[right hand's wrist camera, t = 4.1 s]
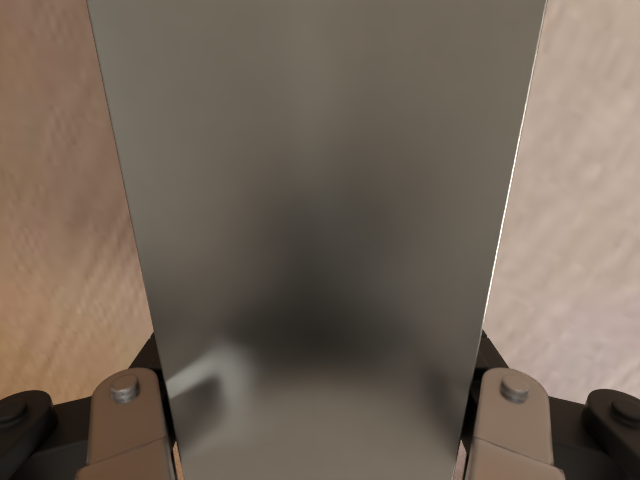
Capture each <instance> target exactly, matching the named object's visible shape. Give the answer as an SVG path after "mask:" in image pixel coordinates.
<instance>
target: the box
mask: <svg viewBox="0 0 640 480" xmlns="http://www.w3.org/2000/svg"><path fill="white" fill-rule="evenodd" d="M86 2H87V7H88V12H89V17H90V22H91V27H92V32H93V36H94V41H95V46H96V51H97V56H98V61H99V66H100V71H101V75H102V80H103V85H104V90H105V95H106V100H107V105H108V110H109V115H110V119H111V124H112V129H113V134H114V139H115V144H116V149H117V154H118V158H119V163H120V168H121V173H122V178H123V183H124V188H125V193H126V197H127V202H128V207H129V212H130V217H131V222H132V227H133V232H134V237H135V241H136V246H137V251H138V256H139V261H140V266H141V271H142V276H143V280H144V285H145V290H146V295H147V300H148V305H149V310H150V315H151V320H152V324H153V329H154V334H155V339H156V344H157V349H158V354H159V359H160V363H161V368H162V373H163V378H164V383H165V388H166V393H167V398H168V402H169V407H170V412H171V417H172V422H173V427H174V432H175V437H176V442H177V446H178V451H179V456H180V461H181V466H182V471H183V476H184V480H453V476H454V471H455V466H456V461H457V456H458V451H459V446H460V441H461V435H462V430H463V425H464V420H465V415H466V410H467V405H468V400H469V395H470V390H471V385H472V380H473V375H474V370H475V365H476V360H477V355H478V350H479V345H480V340H481V335H482V330H483V324H484V319H485V314H486V309H487V304H488V299H489V294H490V289H491V284H492V279H493V274H494V269H495V264H496V259H497V254H498V249H499V244H500V239H501V234H502V229H503V224H504V219H505V214H506V208H507V203H508V198H509V193H510V188H511V183H512V178H513V173H514V168H515V163H516V158H517V153H518V148H519V143H520V138H521V133H522V128H523V123H524V118H525V113H526V108H527V103H528V97H529V92H530V87H531V82H532V77H533V72H534V67H535V62H536V57H537V52H538V47H539V42H540V37H541V32H542V27H543V22H544V17H545V12H546V7H547V2H548V0H86Z"/></svg>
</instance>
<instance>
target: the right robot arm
mask: <svg viewBox="0 0 640 480" xmlns="http://www.w3.org/2000/svg"><path fill="white" fill-rule="evenodd" d="M461 440H462V443H463V445H464V448H465V450H466V457H465V463H464V469H463V475H462V480H640V400H639V399H637V398H635V397H633V396H631V395H628V394H626V393H623V392H620V391H616V390H610V389H598V390H594V391H592V392H591V393H590V394H589V395H588V398H587V401H586V403H585V405H584V404H580V403H575V402H571V401H567V400H562V399H558V398H554V397H550V396H548V394H547V392H546V390H545V389H544V388H543V386H542V385H541V384H540V383H539V382H537V381H536V380H535V379H533V378H532V377H530V376H529V375H527V374H525V373H522V372H520V371H517V370H514V369H510V368H509V367H508V366H507V364H506V363H505V361H504V360H503V358H502V357H501V355H500V354H499V352H498V351H497V350H496V348H495V347H494V345H493V344H492V342H491V341H490V339H489V338H487V335H486V333H485V332H484V331H483V330H482V335H481V340H480V345H479V350H478V355H477V360H476V365H475V370H474V375H473V380H472V385H471V390H470V395H469V400H468V405H467V410H466V415H465V420H464V425H463V430H462V435H461ZM175 442H176V437H175V432H174V427H173V422H172V417H171V412H170V407H169V402H168V398H167V393H166V388H165V383H164V378H163V373H162V368H161V363H160V359H159V354H158V349H157V344H156V339H155V334H154V332H153V334H152V335H151V338H150V339H148V341H147V342H146V344H145V345H144V347H143V348H142V349H141V351H140V352H139V354H138V355H137V357H136V358H135V360H134V361H133V362H132V364H131V365H130V367H129V368H128V369H126V370H123V371H120V372H118V373H115V374H113V375H111V376H110V377H108V378H107V379H105V380H104V381H103V382H101V383H100V384H99V385H98V386H97V388H96V389H95V390H94V392H93V394H92V396H90V397H86V398H83V399H79V400H74V401H70V402H66V403H61V404H57V405H53V403H52V400H51V397H50V396H49V394H47V393H46V392H44V391H39V390H31V391H24V392H20V393H17V394H13V395H11V396H8V397H6V398H4V399H2V400H0V480H178V475H177V469H176V463H175V457H174V452H173V447H174V444H175Z"/></svg>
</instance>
